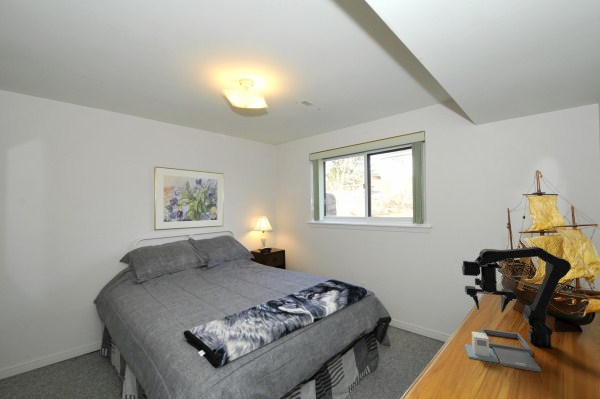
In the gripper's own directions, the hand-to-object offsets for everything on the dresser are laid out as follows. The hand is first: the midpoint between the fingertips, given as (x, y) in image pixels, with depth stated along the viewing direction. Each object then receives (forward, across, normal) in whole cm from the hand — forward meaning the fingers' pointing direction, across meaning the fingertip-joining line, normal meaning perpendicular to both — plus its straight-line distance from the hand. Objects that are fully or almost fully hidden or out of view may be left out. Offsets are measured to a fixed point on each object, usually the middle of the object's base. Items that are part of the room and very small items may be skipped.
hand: (489, 310), depth 124 cm
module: (+11, +7, +17) cm, 22 cm away
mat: (+12, +8, +17) cm, 22 cm away
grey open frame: (+12, -4, +10) cm, 16 cm away
